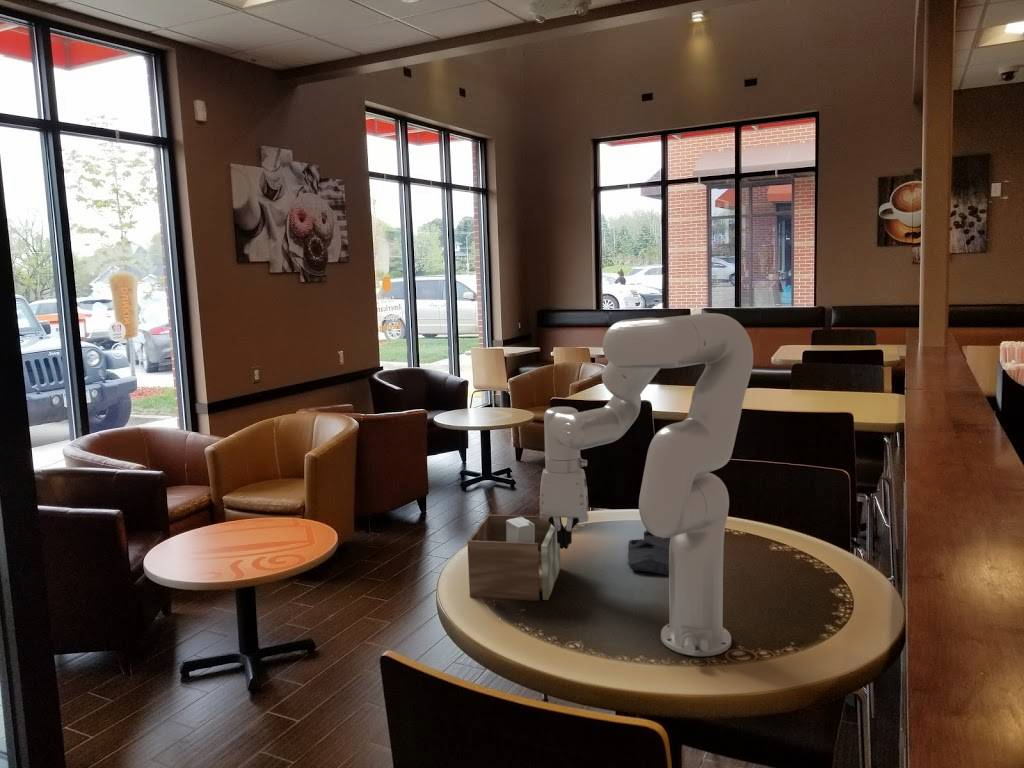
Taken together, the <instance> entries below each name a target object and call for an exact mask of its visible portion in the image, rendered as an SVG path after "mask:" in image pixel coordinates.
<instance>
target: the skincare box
mask: <svg viewBox="0 0 1024 768" xmlns="http://www.w3.org/2000/svg"><path fill="white" fill-rule="evenodd" d="M506 542H523V543H535V525H534V524H533V523H531V522H530V521H529V520H527V519H525V518H523V517H518V518H513V519H509V520H506Z"/></svg>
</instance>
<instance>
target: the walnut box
mask: <svg viewBox="0 0 1024 768" xmlns="http://www.w3.org/2000/svg"><path fill="white" fill-rule="evenodd" d="M539 516H540V515H518V514H517V515H514V514H513V515H509V514H490V513H489V514H486V515H485V517H484V518H483V520H482V521H481V522H480V524H479V525H478V526H477V528H476V529H475V531H474V532H473V533H472V534H471V536H470V537H469V538H468V540H467V542H466V544H467V561H468V562H467V563H468V565H467V566H468V583H469V585H468V586H469V587H468V588H469V597H470V598H481V599H482V598H483V599H498V600H499V599H500V600H501V599H502V600H516V601H517V600H518V601H531V602H532V601H534V602H540V599H541V598H542V596H543V592H542V591H539V562H538V551H541V545H542V543H543V541H544V539H545V537H546V535H547V533H548V531H549V529H550V526H551V523H550V522H547V521H543V520H540V519H539ZM518 517H523V518H525V519H527V520H529V521H530V522H531V523H533V524H534V525H535V543H523V542H506V520H509V519H513V518H518Z"/></svg>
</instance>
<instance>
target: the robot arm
mask: <svg viewBox="0 0 1024 768" xmlns="http://www.w3.org/2000/svg"><path fill="white" fill-rule="evenodd" d="M751 341H752V340H751V338H750V336H749V334H748V332H747V331H746V329H745V328H744V326H743V325H742V324H741V323H740V322H739V321H737V320H736V319H735V318H733V317H732V316H730V315H726V314H724V313H715V312H712V313H710V312H707V313H695V314H687V315H677V316H667V317H643V318H641V317H640V318H631V319H630V318H629V319H623V320H619V321H616V322H615V323H613V324H612V325H611V326H610V327H609V328H608V329H607V331H606V332H605V334H604V336H603V340H602V350H603V351H602V352H603V355H604V357H605V359H606V360H607V362H608V363H607V364H606V366H605V367H604V368H603V370H602V372H601V379H602V384H603V386H604V387H605V388H606V389H607V391H608V393H610V394H611V395H612V397H611V398H610V399H609V401H608V402H607V403H606V404H605V405H604V406H603V407H599V408H594V409H589V410H584V411H580V412H579V411H578V409H576V408H574V407H571V406H553V407H550V408H548V409H546V410H545V412H544V417H543V422H544V424H543V425H544V431H543V432H544V461H545V468H543V469H542V472H541V478H540V479H541V480H540V488H539V489H540V491H539V515H538V516H539V519H540V520H543V521H547V522H550V523H551V524H552V525H553V526H554V527H555V529H556V530H557V543H560V550H562V549H565V550H567V549H568V548H569V546H570V545H571V544H572V543H573V542H572V540H573V538H572V536H573V535H572V531H573V529H574V528H575V527H576V526H577V525H578V524H583V523H587V522H588V521H589V519H590V518H589V514H588V510H589V497H588V486H587V484H588V483H587V477H586V473H585V472H586V471H585V470H584V469H583V468H584V467H587V466H588V460H587V459H584V458H583V459H582V457H581V450H586V449H589V448H590V449H591V448H594V447H598V446H603V445H607V444H610V443H611V444H612V443H614V442H615V441H618V440H619V439H621V438H622V437H623V436H624V435H625V434H626V432H627V431H628V430H629V429H630V428H631V426H632V425H633V424H634V422H635V421H636V420H637V418H638V416H639V414H640V412H641V406H642V405H641V404H642V397H641V394H642V393H643V391H644V390H645V389H646V388H647V386H648V385H649V384H650V382H651V381H652V380H653V379H654V377H655V376H656V375H657V373H658V372H659V371H660V370H661V369H675V368H683V367H689V366H695V365H700V364H705V368H704V369H703V372H702V374H701V376H699V378H698V380H697V382H696V383H695V386H694V388H693V390H692V394H691V395H692V396H691V399H690V400H691V402H690V405H689V409H688V413H687V416H686V418H685V419H684V420H682V421H679V422H674V423H671V424H668V425H666V426H664V427H662V428H661V429H659V430H658V431H657V432H656V434H655V435H654V436H653V438H652V439H651V441H650V444H649V446H648V449H647V454H646V459H645V465H644V470H643V476H642V480H641V481H642V482H641V486H640V493H639V498H638V511H639V513H638V514H639V516H640V520H641V522H642V525H643V527H644V528H645V529H646V530H648V531H649V532H650V533H651V534H653V535H655V536H657V537H661V538H669V537H671V539H670V546H669V576H668V589H669V590H668V596H669V598H668V603H669V604H668V607H669V609H668V611H669V612H668V621H669V623H667V624H666V625H664V626H663V627H662V629H661V630H660V640H661V642H662V643H663V644H664V646H666V647H667V648H668V649H670V650H672V651H673V652H675V653H679V654H681V655H685V656H686V655H687V656H691V657H712V656H718V655H720V654H723V653H724V652H726V651H728V650H729V648H730V647H731V645H732V636H731V633H730V632H729V631H728V630H727V629H726V628H725V627H723V621H724V620H723V618H724V617H723V616H724V614H723V613H724V612H723V609H724V607H723V603H724V596H723V595H724V589H723V588H724V546H725V545H724V543H725V531H726V526H727V520H728V515H729V510H730V509H729V508H730V497H729V492H728V488H727V486H726V484H725V483H724V482H723V481H722V479H721V478H720V477H718V476H717V475H716V474H714V473H711V472H714V471H716V470H719V469H721V468H724V466H725V465H727V464H728V462H729V461H730V459H731V458H732V454H733V452H734V451H733V450H734V448H735V447H734V446H735V443H736V438H737V433H738V429H739V425H740V420H741V415H742V409H743V405H744V400H745V396H746V393H747V389H748V386H749V382H750V380H751V375H752V371H753V365H754V350H753V349H754V348H753V344H752V342H751ZM582 467H583V468H582ZM563 518H566V524H565V526H564V524H563Z"/></svg>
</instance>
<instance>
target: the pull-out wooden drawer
mask: <svg viewBox="0 0 1024 768" xmlns="http://www.w3.org/2000/svg"><path fill="white" fill-rule="evenodd" d="M561 560H562V559H561V549H560V543H557V530H556V529H555V527H554V526H553V525H552V524H551V526H550V529H549V531H548V533H547V535H546V537H545V539H544V541H543V543H542V545H541V551H538V562H539V591H542V592H543V593H542V600H543V601H549V600H550V596H551V594H552V592H553V588H554V586H555V584H556V581H557V579H558V577H559V576H558V575H559V573H560V570H561V563H562V561H561Z"/></svg>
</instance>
